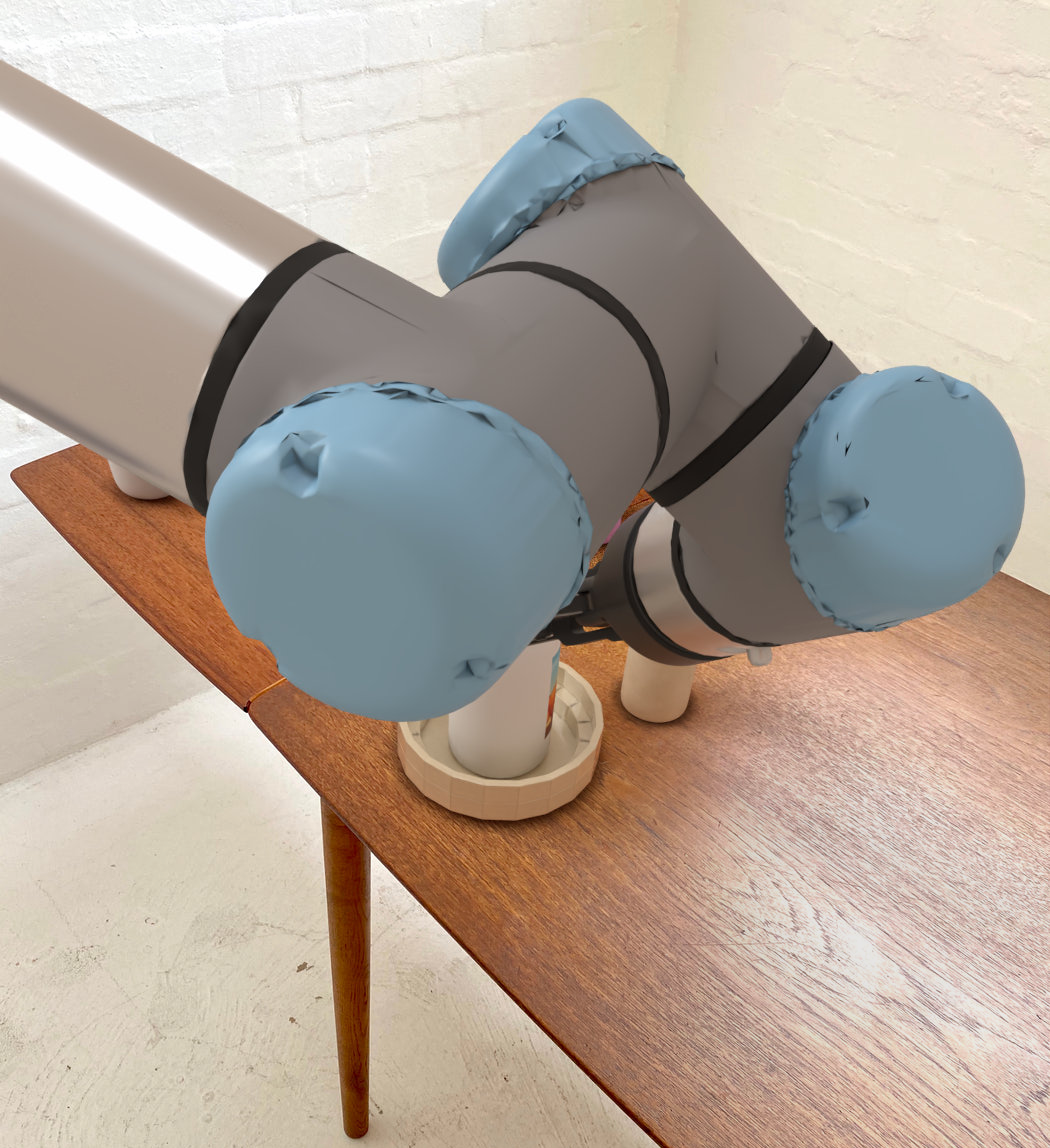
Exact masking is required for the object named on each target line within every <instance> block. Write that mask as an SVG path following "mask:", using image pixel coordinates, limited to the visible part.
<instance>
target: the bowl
mask: <svg viewBox="0 0 1050 1148" xmlns="http://www.w3.org/2000/svg"><path fill="white" fill-rule="evenodd" d="M603 715H604V713H603V705H602V702H601V700H600V699H599V697H598V695H597V693H596V691H595V690H594V689H593V686H592V685H591V683H590V682H589V681H588V680H587V679H585V678H584V677H583V676H582V675H581V674H580V673H578V672H577V671H576V670H575V669H574V668H573V667H572V666H570V665H569V664H567V663H565V662H563V661H561V660H559V668H558V677H557V686H556V695H555V703H554V711H553V720H552V728H551V735H550V742H549V748H548V751H547V754H546V755H545V757H544V759H543V760H542V761H541V762H540V763H539V764H538V765H537V766H536V767H535V768H534V769H532V770H531V771H529V772H528V773H525V774H523V775H520V776H516V777H512V778H490V777H486V776H481V775H479V774H476V773H474V772H472V771H470V770H468V769H467V768H465V767H464V766H463V765H462V764H460V763H459V761H458V760H457V759H456V758H455V756H454V755H453V753H452V751H451V749H450V746H449V736H448V728H449V714H447V715H444V716H441V717H438V718H432V719H427V720H421V721H413V722H396V727H397V728H396V729H397V730H396V731H397V732H396V734H397V739H396V741H397V755H398V757H399V760H400V763H401V766H402V769H403V771H404V773H405V775H406V777H407V778H408V780H410V781H411V783H412V784H413V785H414V786H415V788H417V789H418V790H419V792H420V793H421V794H422V795H424V796H425V797H427V798H428V799H429V800H431V801H433V802H435V803H436V804H438V805H440V806H442V807H443V808H445V809H447V810H448V811H450V812H455V813H457V814H461V815H465V816H468V817H472V818H474V819H479V820H484V821H485V820H487V821H489V820H490V821H520V820H524V819H530V818H534V817H539V816H542V815H547V814H550V813H552V812H553V811H554V810H556V809H558V808H560V807H562V806H564V805H566V804H568V803H570V802H572V801H573V800H575V799H576V797H577V796H578V795H579V794H580V793H581V792H582V791H583V790H584V789H585V788H586V787H587V786H588V785H589V783H591V781H592V778H593V776H594V773H595V770H596V768H597V764H598V762H599V757H600V752H601V747H602V739H603V733H604V727H605V724H604V723H605V722H604V716H603Z"/></svg>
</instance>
